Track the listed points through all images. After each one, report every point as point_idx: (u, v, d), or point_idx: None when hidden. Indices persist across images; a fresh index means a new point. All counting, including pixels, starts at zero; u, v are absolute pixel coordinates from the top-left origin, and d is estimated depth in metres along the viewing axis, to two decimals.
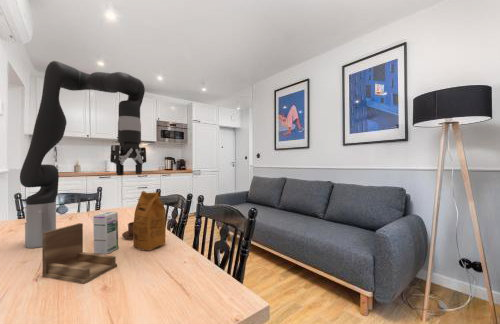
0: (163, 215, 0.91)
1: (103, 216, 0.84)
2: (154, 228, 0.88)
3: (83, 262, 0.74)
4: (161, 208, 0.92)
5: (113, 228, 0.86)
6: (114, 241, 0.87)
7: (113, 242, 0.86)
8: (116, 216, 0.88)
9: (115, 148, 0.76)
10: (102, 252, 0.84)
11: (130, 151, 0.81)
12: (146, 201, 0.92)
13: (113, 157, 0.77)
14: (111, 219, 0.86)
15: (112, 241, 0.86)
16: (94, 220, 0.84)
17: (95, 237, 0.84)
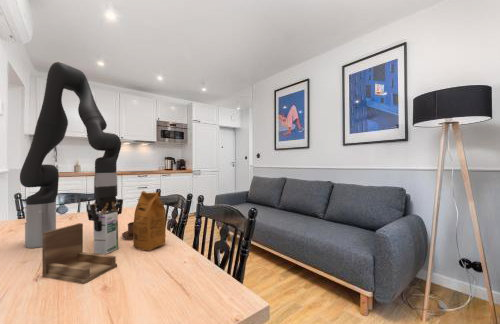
0: (163, 215, 0.91)
1: (103, 216, 0.84)
2: (154, 228, 0.88)
3: (83, 262, 0.74)
4: (161, 208, 0.92)
5: (113, 228, 0.86)
6: (114, 241, 0.87)
7: (113, 242, 0.86)
8: (116, 216, 0.88)
9: (91, 208, 0.80)
10: (102, 252, 0.84)
11: (106, 206, 0.85)
12: (146, 201, 0.92)
13: (91, 215, 0.81)
14: (111, 219, 0.86)
15: (112, 241, 0.86)
16: None
17: (95, 237, 0.84)
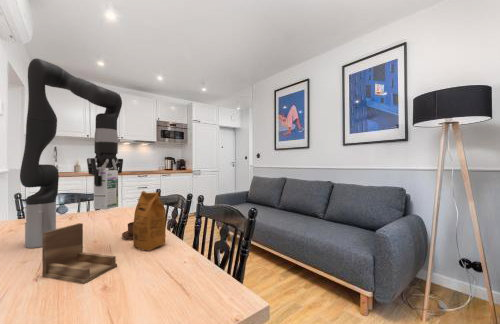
0: (163, 215, 0.91)
1: (103, 171, 0.84)
2: (154, 228, 0.88)
3: (83, 262, 0.74)
4: (161, 208, 0.92)
5: (113, 185, 0.86)
6: (114, 198, 0.87)
7: (113, 199, 0.86)
8: (116, 174, 0.88)
9: (91, 162, 0.80)
10: (102, 207, 0.84)
11: (106, 162, 0.85)
12: (146, 201, 0.92)
13: (91, 169, 0.82)
14: (112, 176, 0.86)
15: (112, 197, 0.86)
16: None
17: (95, 193, 0.84)
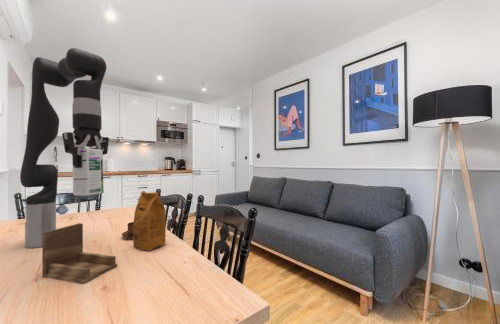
0: (163, 215, 0.91)
1: (84, 149, 0.69)
2: (154, 228, 0.88)
3: (83, 262, 0.74)
4: (161, 208, 0.92)
5: (96, 166, 0.72)
6: (98, 182, 0.72)
7: (97, 184, 0.72)
8: (101, 154, 0.74)
9: (67, 136, 0.65)
10: (83, 193, 0.69)
11: (87, 138, 0.70)
12: (146, 201, 0.92)
13: (68, 146, 0.67)
14: (95, 156, 0.71)
15: (96, 181, 0.71)
16: None
17: (74, 176, 0.69)
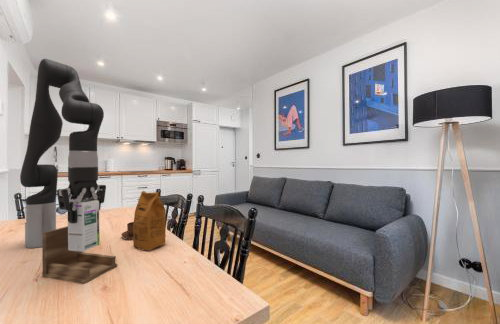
0: (163, 215, 0.91)
1: (79, 204, 0.67)
2: (154, 228, 0.88)
3: (83, 262, 0.74)
4: (161, 208, 0.92)
5: (92, 219, 0.70)
6: (94, 236, 0.70)
7: (92, 237, 0.70)
8: (97, 205, 0.72)
9: (62, 194, 0.63)
10: (78, 249, 0.67)
11: (83, 192, 0.68)
12: (146, 201, 0.92)
13: (63, 203, 0.65)
14: (91, 209, 0.69)
15: (91, 235, 0.69)
16: None
17: (70, 230, 0.68)
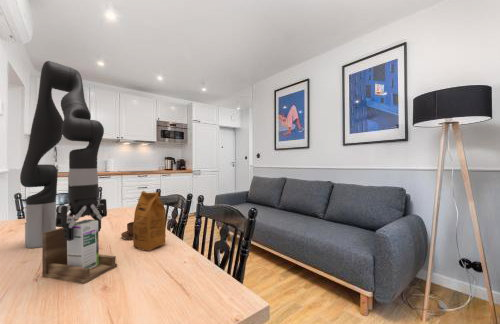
0: (163, 215, 0.91)
1: (78, 226, 0.67)
2: (154, 228, 0.88)
3: None
4: (161, 208, 0.92)
5: (91, 240, 0.70)
6: (93, 256, 0.70)
7: (92, 258, 0.69)
8: (96, 225, 0.71)
9: (61, 210, 0.63)
10: None
11: (83, 210, 0.68)
12: (146, 201, 0.92)
13: (60, 220, 0.64)
14: (90, 229, 0.69)
15: (91, 256, 0.69)
16: None
17: (69, 252, 0.67)
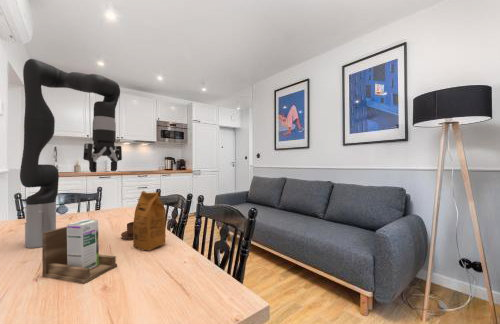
0: (163, 215, 0.91)
1: (78, 226, 0.67)
2: (154, 228, 0.88)
3: None
4: (161, 208, 0.92)
5: (91, 240, 0.70)
6: (93, 256, 0.70)
7: (92, 258, 0.69)
8: (96, 225, 0.71)
9: (88, 146, 0.80)
10: None
11: (104, 149, 0.85)
12: (146, 201, 0.92)
13: (86, 155, 0.81)
14: (90, 229, 0.69)
15: (91, 256, 0.69)
16: (67, 230, 0.68)
17: (69, 252, 0.67)
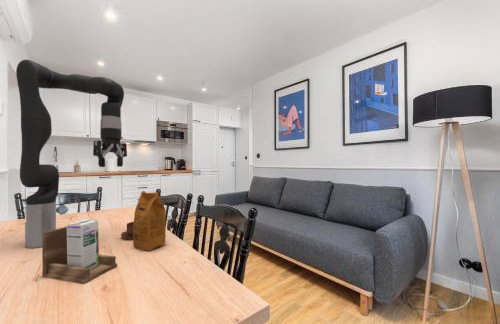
0: (163, 215, 0.91)
1: (78, 226, 0.67)
2: (154, 228, 0.88)
3: None
4: (161, 208, 0.92)
5: (91, 240, 0.69)
6: (93, 256, 0.70)
7: (92, 258, 0.69)
8: (96, 225, 0.71)
9: (97, 143, 0.88)
10: None
11: (111, 146, 0.93)
12: (146, 201, 0.92)
13: (95, 151, 0.89)
14: (90, 229, 0.69)
15: (91, 256, 0.69)
16: (67, 230, 0.68)
17: (69, 252, 0.67)
